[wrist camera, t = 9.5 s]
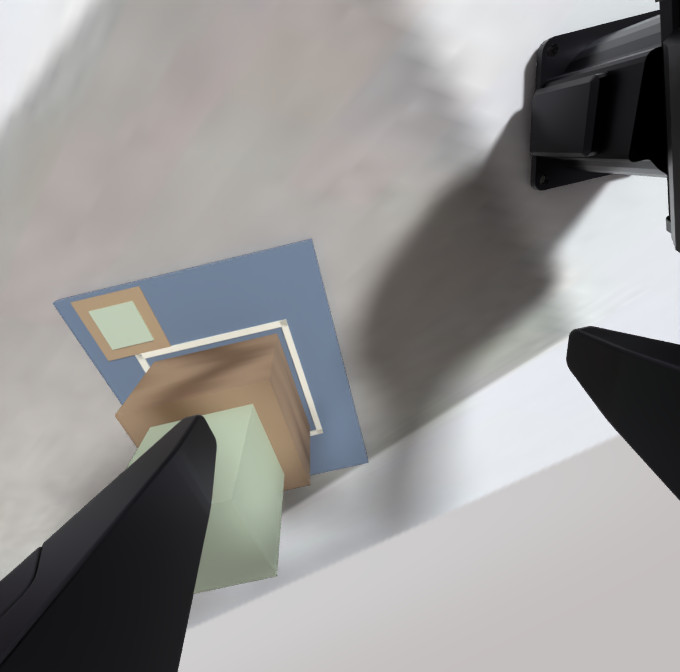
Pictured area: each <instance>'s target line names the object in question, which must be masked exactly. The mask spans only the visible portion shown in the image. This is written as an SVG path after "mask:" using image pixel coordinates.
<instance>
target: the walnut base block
mask: <svg viewBox="0 0 680 672" xmlns="http://www.w3.org/2000/svg"><path fill="white" fill-rule="evenodd" d="M249 404H253V405H254V408H255V410H256V412H257V414H258V417H259V419H260V421H261V423H262V426H263V428H264V430H265V432H266V434H267V437H268V439H269V441H270V443H271V446H272V448H273V450H274V452H275V455H276V457H277V459H278V461H279V463H280V466H281V468H282V470H283V472H284V488H283V491H285V490H289V489H294V488H299V487H303V486H308V485H310V425H309V422H308V420H307V417H306V414H305V411H304V408H303V405H302V402H301V400H300V397H299V394H298V391H297V388H296V385H295V382H294V380H293V377H292V374H291V371H290V368H289V365H288V362H287V360H286V357H285V354H284V351H283V348H282V345H281V342H280V340H279V337H278V334H277V333H276V334H272V335H267V336H263V337H259V338H254V339H250V340H246V341H241V342H237V343H233V344H229V345H224V346H220V347H216V348H211V349H207V350H203V351H198V352H194V353H190V354H185V355H181V356H177V357H173V358H168V359H164V360H160V361H155V362H153V364H152V365H151V367H150V368H149V369H148V371H147V372H146V373H145V375H144V376H143V378H142V379H141V380H140V382H139V383H138V384H137V386H136V387H135V388H134V390H133V391H132V393H131V394H130V395H129V397H128V398H127V399H126V401H125V402H124V404H123V405H122V406H121V408H120V409H119V410H118V412H117V413H116V415H115V417H116V418H117V420H118V421H119V422H120V424H121V425H122V427H123V428H124V430H125V431H126V432H127V434H128V435H129V437H130V438H131V439H132V441H133V442H134V444H135V445H136V446H137V448H139V446H140V444H141V442H142V441H143V439H144V437H145V435H146V434H147V432H148V430H149V428H150V427H154V426H158V425H163V424H167V423H171V422H176V421H180V420H182V419H183V418H185V417H189V416H193V415H198V414H200V415H206V414H210V413H215V412H219V411H223V410H228V409H232V408H236V407H241V406H245V405H249Z"/></svg>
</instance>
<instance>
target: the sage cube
mask: <svg viewBox="0 0 680 672" xmlns="http://www.w3.org/2000/svg"><path fill="white" fill-rule="evenodd" d="M202 416H203V417H204V418H205V419H206V421H207V423H208V425H209V427H210V429H211V431H212V432H213V434H214V436H215V438H216V442H217V452H216V463H215V474H214V484H213V495H212V503H211V510H210V516H209V521H208V525H207V530H206V535H205V540H204V545H203V550H202V555H201V560H200V565H199V569H198V574H197V579H196V584H195V589H194V594H195V593H200V592H205V591H210V590H214V589H219V588H224V587H228V586H233V585H238V584H243V583H247V582H252V581H257V580H262V579H266V578H271V577H276V576H277V568H278V555H279V541H280V528H281V515H282V501H283V488H284V472H283V470H282V468H281V466H280V463H279V461H278V459H277V457H276V455H275V452H274V450H273V448H272V446H271V443H270V441H269V439H268V437H267V434H266V432H265V430H264V428H263V426H262V423H261V421H260V419H259V417H258V414H257V412H256V410H255V408H254V405H253V404H249V405H245V406H241V407H236V408H232V409H228V410H223V411H219V412H215V413H210V414H206V415H202ZM180 421H181V420H180ZM180 421H176V422H171V423H167V424H163V425H158V426H154V427H150V428H149V430H148V432H147V434H146V435H145V437H144V439H143V441H142V442H141V444H140V446H139V448H138V449H137V451H136V453H135V455H134V456H133V458H132V460H131V462H130V463H129V465H128V467H129V466H130V465H131V464H133V463H134V462H135V461H136V460H137V459H138V458H139V457H140V456H142V455H143V454H144V453H145V452H146V451H147V450H148V449H149V448H150V447H152V446H153V445H154V444H155V443H156V442H157V441H158V440H159V439H161V438H162V437H163V436H164V435H165V434H166V433H167V432H168V431H170V430H171V429H172V428H173V427H174V426H175V425H176V424H177V423H178V422H180ZM128 467H127V468H128Z"/></svg>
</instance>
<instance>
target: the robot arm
mask: <svg viewBox="0 0 680 672" xmlns="http://www.w3.org/2000/svg"><path fill="white" fill-rule="evenodd" d="M655 2H659V3H660V10H657V11H653V12H649V13H645V14H641V15H637V16H633V17H629V18H625V19H621V20H617V21H613V22H609V23H606V24H602V25H598V26H594V27H590V28H586V29H582V30H578V31H574V32H570V33H566V34H562V35H558V36H554V37H552V38H550V39H548V40H546V41H544V42H543V43H542V44H541V45H540V47H539V49H538V53H537V66H536V86H535V94H534V95H533V97H532V116H531V137H530V152H531V153H532V166H531V186H532V187H533V188H534V189H536V190H547V189H551V188H555V187H559V186H563V185H568V184H572V183H576V182H580V181H584V180H588V179H593V178H597V177H601V176H605V175H609V174H613V173H614V174H627V175H640V176H653V177H666V178H667V182H668V205H669V216H667V217H666V230H667V231H668V232H670V233H671V237H672V240H673V243H674V246H675V249H676V250H677V251H678V252H680V0H655ZM550 46H551V47H552V48H553V54H552V56H551V58H550V57H549V56H548V53H547V52H548V48H549V47H550ZM542 176H544V178H545V179H544V182H543V183H542V184H540V182H539V181H540V178H541V177H542ZM566 361H567V365H568V367H569V369H570V371H571V372H572V373H573V375H574V376H575V377H576V379H577V380H578V382H579V383H580V384H581V386H582V387H583V388H584V390H585V391H586V392H587V394H588V395H589V397H590V398H591V399H592V401H593V402H594V403H595V405H596V406H597V407H598V409H599V410H600V411H601V413H602V414H603V415H604V417H605V418H606V419H607V420H608V422H609V423H610V424H611V425H612V426H613V427H614V429H615V430H616V431H617V432H618V433H619V434H620V435H621V436H622V437H623V438H624V439H625V441H627V443H628V444H629V445H630V446H631V447H632V448H633V449H634V451H635V452H636V453H637V454H638V455H639V456H640V457H641V458H642V459H643V461H644V462H645V463H646V464H647V465H648V466H649V467H650V468H651V469H652V470H653V472H654V473H655V474H656V475H657V476H658V477H659V478H660V479H661V480H662V481H663V482H664V484H665V485H666V486H667V487H668V488H669V489H670V490H671V491H672V492H673V494H674V495H675V496H676V497H677V498H678V499H679V500H680V345H679V344H674V343H669V342H665V341H660V340H655V339H650V338H646V337H641V336H636V335H632V334H627V333H622V332H617V331H613V330H608V329H603V328H599V327H594V326H587V327H583V328H578V329H574V330H573V331H571V333H570V335H569V341H568V349H567V357H566ZM216 452H217V442H216V438H215V436H214V434H213V432H212V431H211V429H210V427H209V425H208V423H207V421H206V419H205V418H204V417H203V416H202V415H200V414H198V415H193V416H189V417H185V418H183V419H182V420H181V421H180V422H178V423H177V424H176V425H175V426H174V427H173V428H172V429H171V430H170V431H168V432H167V433H166V434H165V435H164V436H163V437H162V438H161V439H159V440H158V441H157V442H156V443H155V444H154V445H153V446H152V447H150V448H149V449H148V450H147V451H146V452H145V453H144V454H143V455H142V456H140V457H139V458H138V459H137V460H136V461H135V462H134V463H133V464H131V465H130V466H129V467H128V468H127V469H126V470H125V471H124V472H122V473H121V474H120V475H119V476H118V477H117V478H116V479H115V480H114V481H112V482H111V483H110V484H109V485H108V486H107V487H106V488H105V489H103V490H102V491H101V492H100V493H99V494H98V495H97V496H96V497H94V498H93V499H92V500H91V501H90V502H89V503H88V504H87V505H86V506H84V507H83V508H82V509H81V510H80V511H79V512H78V513H77V514H75V515H74V516H73V517H72V518H71V519H70V520H69V521H68V522H67V523H65V524H64V525H63V526H62V527H61V528H60V529H59V530H58V531H56V532H55V533H54V534H53V535H52V536H51V537H50V538H49V539H47V540H46V541H45V542H44V543H43V545H42V547H39V548H37V549H36V550H35V551H34V552H33V553H32V554H31V555H29V556H28V557H27V558H26V559H25V560H24V561H23V562H22V563H21V564H19V565H18V566H17V567H16V568H15V569H14V570H13V571H11V572H10V573H9V574H8V575H7V576H6V577H5V578H3V579H2V580H1V581H0V672H178V667H179V662H180V657H181V653H182V647H183V643H184V638H185V633H186V628H187V623H188V618H189V613H190V609H191V604H192V599H193V594H194V589H195V584H196V579H197V574H198V569H199V565H200V560H201V555H202V550H203V545H204V540H205V535H206V530H207V525H208V521H209V516H210V510H211V503H212V495H213V484H214V474H215V463H216Z"/></svg>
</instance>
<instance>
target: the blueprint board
mask: <svg viewBox="0 0 680 672" xmlns="http://www.w3.org/2000/svg"><path fill="white" fill-rule="evenodd" d="M53 305H54V306H55V307H56V309H57V310H58V312H59V313H60V315H61V316H62V318H63V319H64V321H65V322H66V324H67V325H68V327H69V328H70V329H71V331H72V332H73V334H74V335H75V337H76V338H77V340H78V341H79V343H80V344H81V346H82V347H83V348H84V350H85V351H86V353H87V354H88V356H89V357H90V359H91V360H92V362H93V363H94V365H95V366H96V368H97V369H98V370H99V372H100V373H101V375H102V376H103V378H104V379H105V381H106V382H107V384H108V385H109V387H110V388H111V390H112V391H113V392H114V394H115V395H116V397H117V398H118V400H119V401H120V403H121V404H122V405H123V404H124V402H125V401H126V399H127V398H128V397H129V395H130V394H131V393H132V391H133V390H134V388H135V387H136V386H137V384H138V383H139V382H140V380H141V379H142V378H143V376H144V375H145V373H146V372H147V371H148V369H149V368H150V367H151V365H152V364H153V362H155V361H160V360H164V359H168V358H173V357H177V356H181V355H185V354H190V353H194V352H198V351H203V350H207V349H211V348H216V347H220V346H224V345H229V344H233V343H237V342H241V341H246V340H250V339H254V338H259V337H263V336H267V335H272V334H276V333H277V334H278V337H279V340H280V342H281V345H282V348H283V351H284V354H285V357H286V360H287V362H288V365H289V368H290V371H291V374H292V377H293V380H294V382H295V385H296V388H297V391H298V394H299V397H300V400H301V402H302V405H303V408H304V411H305V414H306V417H307V420H308V422H309V425H310V475H314V474H319V473H323V472H328V471H333V470H337V469H342V468H346V467H351V466H355V465H360V464H365V463H368V457H367V454H366V450H365V446H364V442H363V438H362V434H361V430H360V426H359V422H358V418H357V414H356V410H355V407H354V403H353V399H352V395H351V391H350V387H349V383H348V379H347V375H346V371H345V367H344V363H343V360H342V356H341V352H340V348H339V344H338V340H337V336H336V332H335V328H334V324H333V320H332V316H331V313H330V309H329V305H328V301H327V297H326V293H325V289H324V285H323V281H322V277H321V273H320V269H319V265H318V262H317V258H316V254H315V250H314V246H313V242H312V239H308V240H304V241H300V242H296V243H292V244H287V245H283V246H279V247H275V248H271V249H267V250H263V251H258V252H254V253H250V254H246V255H242V256H238V257H233V258H229V259H225V260H221V261H217V262H213V263H209V264H204V265H200V266H196V267H192V268H188V269H184V270H179V271H175V272H171V273H167V274H163V275H159V276H155V277H150V278H146V279H142V280H138V281H134V282H130V283H125V284H121V285H117V286H113V287H109V288H105V289H101V290H96V291H92V292H88V293H84V294H80V295H76V296H71V297H67V298H63V299H59V300H57V301H55V302H53Z"/></svg>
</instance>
